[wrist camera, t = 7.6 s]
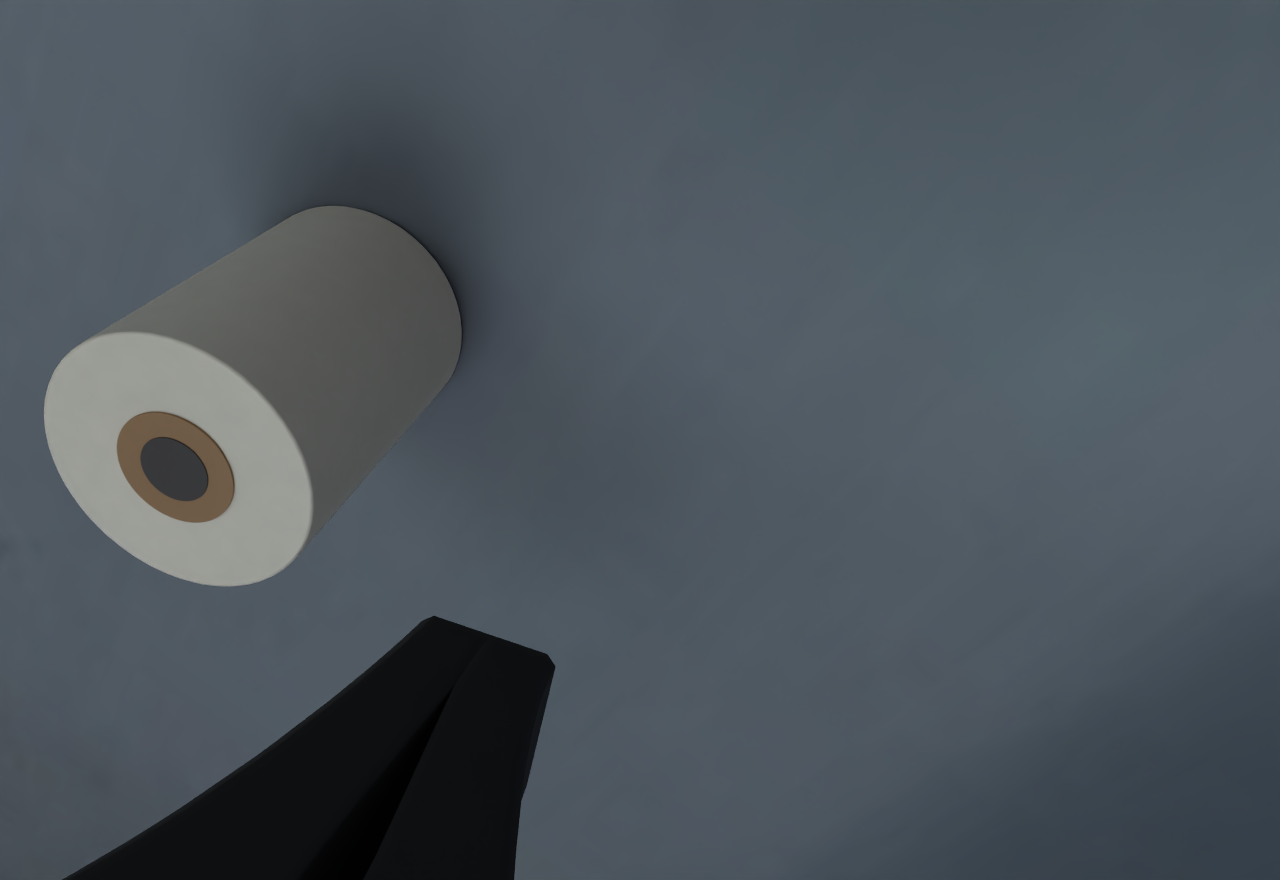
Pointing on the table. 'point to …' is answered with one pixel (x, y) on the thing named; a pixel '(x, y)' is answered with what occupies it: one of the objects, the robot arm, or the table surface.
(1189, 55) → the table surface
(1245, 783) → the table surface
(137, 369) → the paper roll
